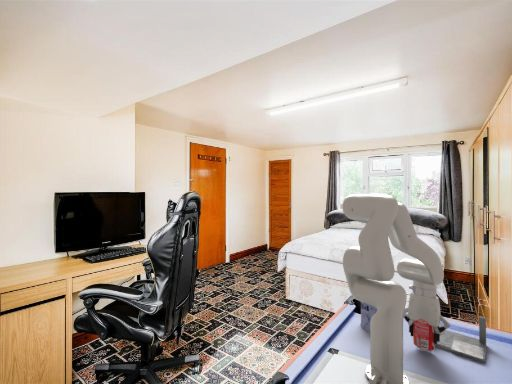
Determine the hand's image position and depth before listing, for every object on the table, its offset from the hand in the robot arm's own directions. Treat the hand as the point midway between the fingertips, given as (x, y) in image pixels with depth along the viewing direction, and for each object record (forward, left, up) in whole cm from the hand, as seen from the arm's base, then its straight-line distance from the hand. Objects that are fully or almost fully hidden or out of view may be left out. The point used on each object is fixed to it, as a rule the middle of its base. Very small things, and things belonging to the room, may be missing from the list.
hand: (423, 338), depth 99 cm
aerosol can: (+5, +22, -5) cm, 23 cm away
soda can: (0, 0, -4) cm, 4 cm away
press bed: (+14, -7, -5) cm, 17 cm away
